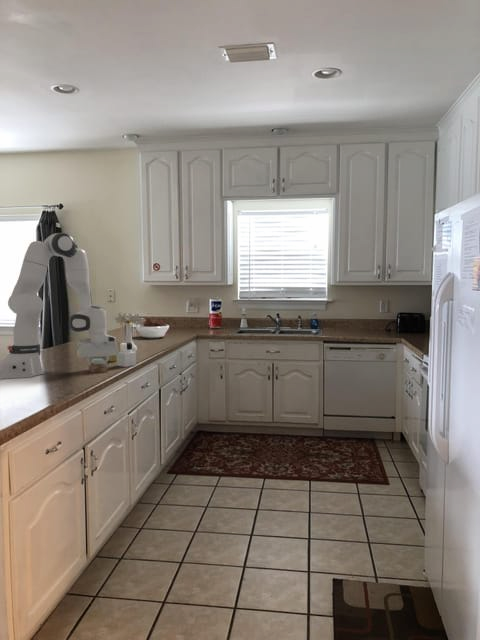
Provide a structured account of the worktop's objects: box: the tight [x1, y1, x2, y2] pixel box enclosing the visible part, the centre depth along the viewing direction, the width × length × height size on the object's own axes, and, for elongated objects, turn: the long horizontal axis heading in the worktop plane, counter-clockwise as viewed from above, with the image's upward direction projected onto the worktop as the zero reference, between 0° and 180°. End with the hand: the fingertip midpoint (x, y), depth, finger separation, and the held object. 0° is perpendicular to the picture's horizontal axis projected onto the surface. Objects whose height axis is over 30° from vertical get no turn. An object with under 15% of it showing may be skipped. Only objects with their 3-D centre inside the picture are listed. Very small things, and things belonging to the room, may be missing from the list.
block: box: [88, 364, 108, 374], centre depth 250 cm, size 7×7×3 cm
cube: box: [91, 357, 106, 365], centre depth 257 cm, size 5×5×5 cm
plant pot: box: [104, 341, 122, 362], centre depth 282 cm, size 10×10×10 cm
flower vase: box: [114, 312, 147, 352], centre depth 304 cm, size 13×18×25 cm
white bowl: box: [135, 318, 170, 339], centre depth 387 cm, size 25×25×15 cm
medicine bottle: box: [116, 342, 137, 368], centre depth 267 cm, size 7×7×12 cm
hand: (98, 365), depth 257 cm, fingers open, 6 cm apart
